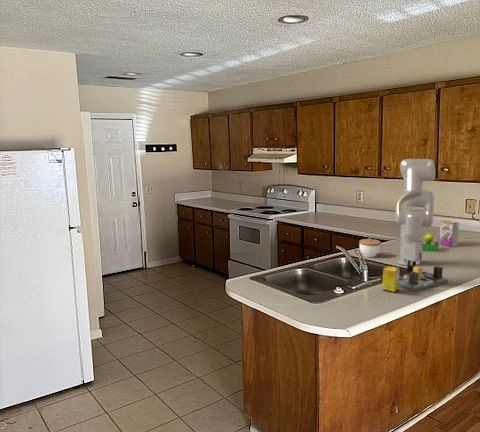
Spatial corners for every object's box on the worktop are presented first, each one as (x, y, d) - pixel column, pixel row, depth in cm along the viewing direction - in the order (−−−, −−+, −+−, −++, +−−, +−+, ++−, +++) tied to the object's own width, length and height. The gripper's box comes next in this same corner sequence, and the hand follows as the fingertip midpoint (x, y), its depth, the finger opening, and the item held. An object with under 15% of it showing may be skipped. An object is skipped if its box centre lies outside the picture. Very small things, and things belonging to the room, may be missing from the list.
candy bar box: (438, 243, 301) (440, 220, 299) (443, 242, 303) (445, 219, 300) (451, 247, 291) (453, 223, 288) (457, 246, 293) (459, 222, 290)
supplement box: (386, 287, 217) (387, 265, 215) (398, 289, 213) (400, 268, 211) (381, 290, 212) (382, 268, 210) (394, 293, 208) (395, 270, 206)
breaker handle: (416, 277, 225) (417, 265, 224) (421, 279, 222) (422, 267, 221) (412, 278, 224) (413, 266, 222) (417, 280, 221) (418, 268, 220)
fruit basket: (419, 251, 282) (420, 234, 280) (418, 247, 291) (419, 231, 289) (438, 252, 279) (440, 235, 277) (437, 249, 287) (438, 232, 285)
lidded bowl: (354, 254, 276) (355, 237, 274) (369, 252, 282) (370, 235, 280) (368, 259, 265) (369, 241, 263) (384, 256, 271) (385, 239, 269)
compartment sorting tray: (424, 275, 234) (425, 260, 233) (447, 282, 222) (448, 267, 221) (389, 283, 222) (390, 268, 221) (412, 291, 210) (413, 275, 209)
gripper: (395, 235, 227) (393, 270, 231) (419, 241, 214) (417, 278, 218) (405, 234, 231) (403, 268, 234) (430, 239, 218) (427, 275, 221)
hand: (410, 272), depth 226 cm, fingers closed
